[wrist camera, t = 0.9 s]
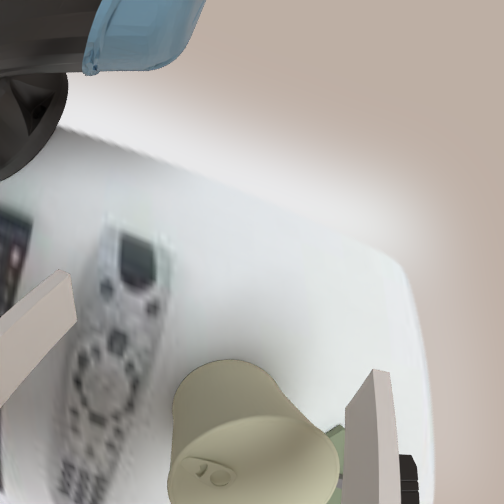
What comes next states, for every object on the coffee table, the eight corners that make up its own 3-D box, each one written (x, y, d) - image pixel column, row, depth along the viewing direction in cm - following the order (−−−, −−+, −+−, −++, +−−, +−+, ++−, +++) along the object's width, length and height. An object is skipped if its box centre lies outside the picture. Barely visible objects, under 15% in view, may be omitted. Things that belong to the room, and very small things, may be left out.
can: (207, 338, 24) (225, 386, 13) (302, 388, 25) (376, 449, 14) (153, 427, 23) (137, 517, 11) (247, 469, 24) (284, 557, 12)
